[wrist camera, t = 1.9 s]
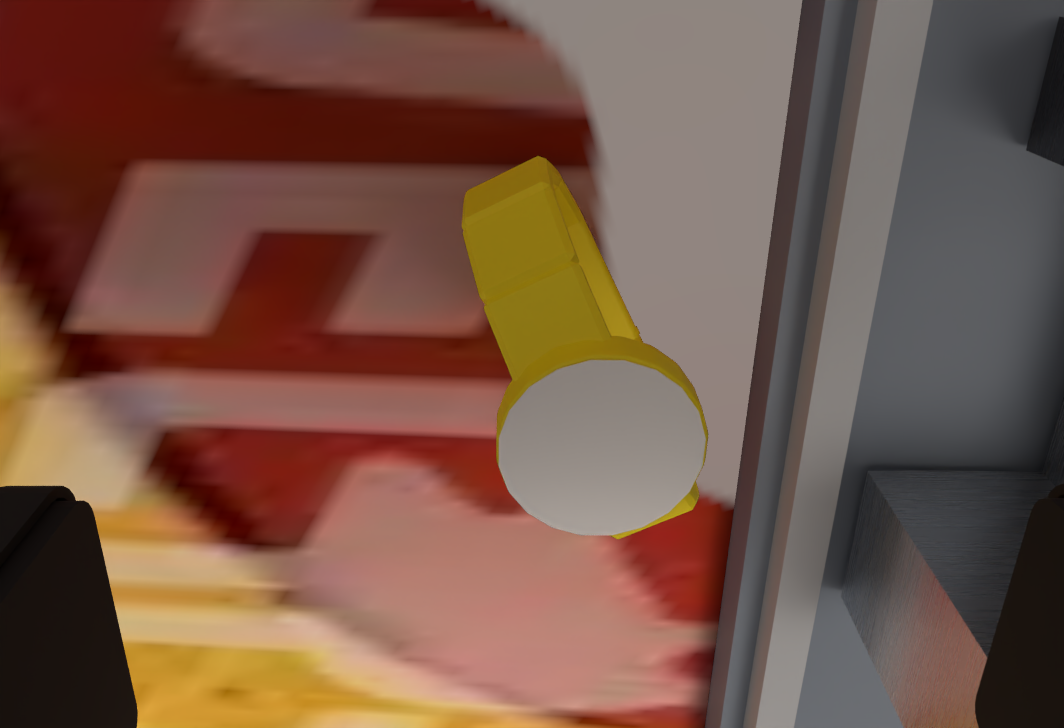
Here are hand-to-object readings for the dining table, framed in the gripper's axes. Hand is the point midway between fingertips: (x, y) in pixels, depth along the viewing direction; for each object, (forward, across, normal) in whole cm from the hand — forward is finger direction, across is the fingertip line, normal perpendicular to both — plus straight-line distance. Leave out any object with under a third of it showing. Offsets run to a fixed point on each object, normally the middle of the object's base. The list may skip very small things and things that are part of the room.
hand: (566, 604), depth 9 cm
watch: (+9, -1, 0) cm, 9 cm away
